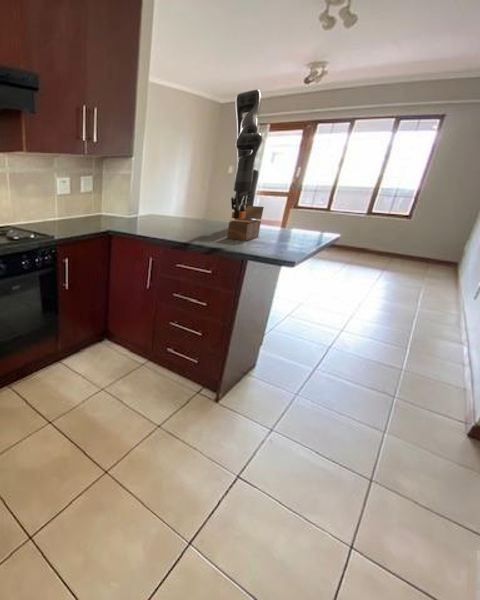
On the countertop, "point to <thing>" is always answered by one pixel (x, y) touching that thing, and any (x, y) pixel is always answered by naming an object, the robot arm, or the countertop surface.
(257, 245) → the countertop surface
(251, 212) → the flap
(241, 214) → the packet
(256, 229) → the carton
